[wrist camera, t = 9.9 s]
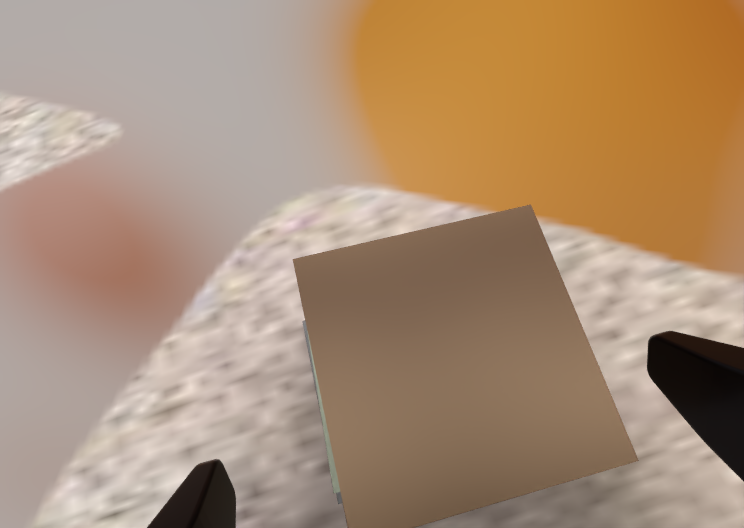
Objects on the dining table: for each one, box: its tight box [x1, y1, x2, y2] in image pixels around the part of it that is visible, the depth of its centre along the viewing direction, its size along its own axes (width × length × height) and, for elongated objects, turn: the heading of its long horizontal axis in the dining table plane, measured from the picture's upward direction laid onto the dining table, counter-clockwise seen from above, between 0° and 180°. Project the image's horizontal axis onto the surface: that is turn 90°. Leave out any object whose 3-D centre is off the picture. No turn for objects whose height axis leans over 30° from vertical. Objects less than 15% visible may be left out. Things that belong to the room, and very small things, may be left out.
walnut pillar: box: [293, 205, 639, 528], centre depth 13 cm, size 5×5×10 cm
